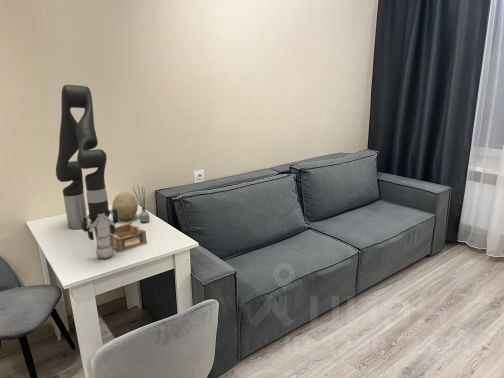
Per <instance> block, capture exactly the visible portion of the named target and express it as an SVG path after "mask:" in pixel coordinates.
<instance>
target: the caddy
mask: <svg viewBox="0 0 504 378" xmlns="http://www.w3.org/2000/svg"><path fill="white" fill-rule="evenodd" d="M110 240H111V245H112V247H113V250H115V251H116V252H118V253H121V252H123V251H127V250H130V249H133V248H137V247H140V246H143V245H145V244H147V243H148V242H147V231H146V230H145V229H143V228H141V227H139V226H138V225H136V224H134V223H132V222H129V223H124V224H121V225H118V226H115V232H114V234H111V233H110Z"/></svg>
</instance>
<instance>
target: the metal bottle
mask: <svg viewBox="0 0 504 378" xmlns="http://www.w3.org/2000/svg"><path fill="white" fill-rule="evenodd" d="M97 215H98V216H99V217H100V219H99V221H98V222H97V224H96V226H95V227H94V228H93V231H94V234H95V241H96V248H95V252H96V253H95V254H96V256H97V257H98V258H99V259H108V258H111V257H112V256H113V255H114V248H113V247H112V245H111V240H110V223H109V221H108V220H106V219H105V218H103V216H104V215H105V212H104V213H100V214H97Z"/></svg>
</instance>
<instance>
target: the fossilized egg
mask: <svg viewBox="0 0 504 378" xmlns="http://www.w3.org/2000/svg"><path fill="white" fill-rule="evenodd" d="M111 206H112V207H111V209H112V208H114V209H115V210H117V215H118V220H121V221H122V220H123V221H127V220H131V219H132V218H134V217H135V215H136V214H137V212H138V208H139V207H138V206H139V204H138V201H137V199H136V198H135V196H134V195H133V194H131V193H130V192H127V191H122V192H119V193H118V194H116V196H115V198H114V199H113V201H112V205H111Z"/></svg>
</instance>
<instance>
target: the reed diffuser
mask: <svg viewBox="0 0 504 378" xmlns="http://www.w3.org/2000/svg"><path fill="white" fill-rule="evenodd" d="M137 188H138V193H139V196H138V195H137V193H136V190H135V188H134V187H133V188H132V190H133V191H134V194H135V195H136V197H137V200H138V202H139V204H140V206H141V212H140V213H139V222H141V223H148V222H150V214H149V212H148V211H146V207H145V204H146V203H145V201H146V193H144V190H143V189H144V188H143V187H141V190H142V194H143V196H142V195H141V192H140V188H139V184H137ZM141 196H142V197H141ZM139 197H140V198H139Z"/></svg>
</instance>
